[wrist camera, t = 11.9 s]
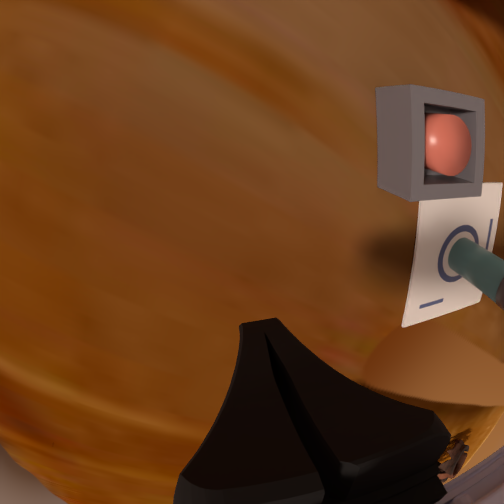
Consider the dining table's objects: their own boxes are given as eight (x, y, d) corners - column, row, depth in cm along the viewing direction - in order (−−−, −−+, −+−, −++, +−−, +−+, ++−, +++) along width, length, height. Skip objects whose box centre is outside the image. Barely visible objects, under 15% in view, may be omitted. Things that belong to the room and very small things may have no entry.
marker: (467, 267, 25) (524, 309, 18) (444, 273, 25) (503, 320, 17) (474, 235, 24) (536, 273, 16) (451, 239, 23) (516, 281, 16)
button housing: (447, 183, 22) (481, 196, 18) (377, 187, 21) (410, 201, 17) (447, 97, 19) (484, 99, 15) (375, 87, 18) (410, 84, 14)
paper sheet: (477, 300, 28) (480, 302, 27) (401, 325, 26) (403, 327, 26) (500, 182, 23) (503, 183, 22) (420, 184, 21) (423, 185, 21)
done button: (447, 168, 19) (470, 175, 17) (406, 169, 19) (429, 176, 17) (447, 115, 18) (471, 117, 16) (406, 110, 17) (430, 111, 15)
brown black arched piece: (414, 455, 43) (449, 469, 36) (440, 421, 47) (474, 431, 40) (414, 485, 45) (444, 498, 38) (438, 455, 49) (468, 464, 42)
